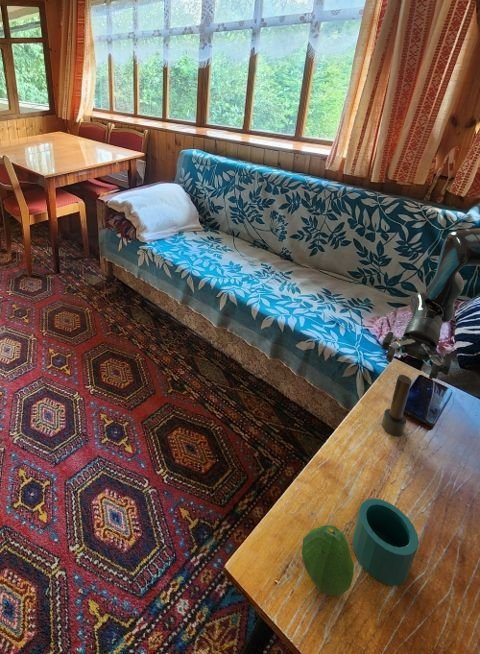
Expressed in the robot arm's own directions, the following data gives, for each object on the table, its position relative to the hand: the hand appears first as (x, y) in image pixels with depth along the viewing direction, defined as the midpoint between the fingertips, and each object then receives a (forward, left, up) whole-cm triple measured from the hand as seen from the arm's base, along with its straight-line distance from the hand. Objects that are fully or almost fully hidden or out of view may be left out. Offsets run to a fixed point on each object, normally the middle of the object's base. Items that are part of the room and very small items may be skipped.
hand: (410, 367), depth 94 cm
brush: (+6, +9, -11) cm, 16 cm away
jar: (+20, +37, -11) cm, 44 cm away
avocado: (+31, +42, -11) cm, 53 cm away
